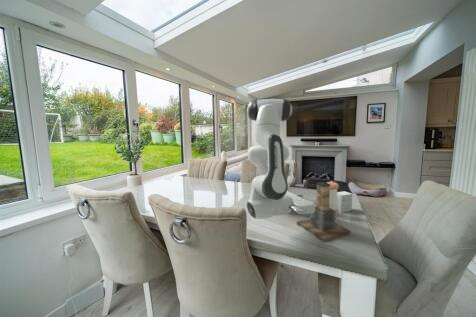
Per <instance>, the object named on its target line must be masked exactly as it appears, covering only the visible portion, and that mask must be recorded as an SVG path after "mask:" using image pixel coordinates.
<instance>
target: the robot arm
mask: <svg viewBox="0 0 476 317" xmlns="http://www.w3.org/2000/svg"><path fill="white" fill-rule="evenodd" d="M246 111H247V115H248V118H249V119H250V120H251V121H255V128H254V129H255V130H254V137H255V141H256V143H257V144H258V145H253V146H250V147H249V148H248V150H247V155H246V157H247V158H248V160H249V162H250V163H252V164H253V165H255V167H256V169H257V172H258V175H256V176H254V178H253V179H252V180H251V184H250V187H251V190H250V195H249V197H248V200H247V203H246V208H247V211H248V214H249V215H250V216H251V217H252V218H253V219H255V220H256V219H257V220H262V219H269V218H273V217H274V216H283V215H286V214H287V215H288V214H290V213H292V211H293V212H295V213H297V214H299V215H306V214H308V215H310V213H314V212H315V206H316V205H317V199H316V200H315V199H312V200H311V201H310V200H307V199H305V198H304V194H303V193H293V192H291V191H288V188H289V183H288V180H287V176H286V172H285V162H286V161H287V160H288V159H289V156H290V151H289V149H288V147H287V146H286V145H284V143H283V140H282V138H281V122H285V121H288V120H289V119H290V117H291V115H292V113H293V106H292V103H291V101H290V100H289V99H280V98H264V99H257V98H256V99H252V100H250V101H249V103H248V105H247V109H246Z"/></svg>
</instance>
